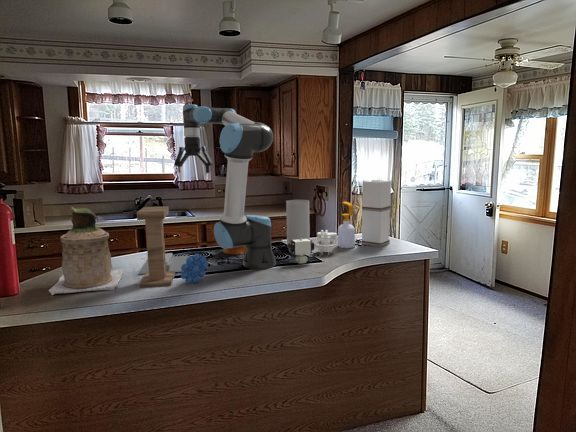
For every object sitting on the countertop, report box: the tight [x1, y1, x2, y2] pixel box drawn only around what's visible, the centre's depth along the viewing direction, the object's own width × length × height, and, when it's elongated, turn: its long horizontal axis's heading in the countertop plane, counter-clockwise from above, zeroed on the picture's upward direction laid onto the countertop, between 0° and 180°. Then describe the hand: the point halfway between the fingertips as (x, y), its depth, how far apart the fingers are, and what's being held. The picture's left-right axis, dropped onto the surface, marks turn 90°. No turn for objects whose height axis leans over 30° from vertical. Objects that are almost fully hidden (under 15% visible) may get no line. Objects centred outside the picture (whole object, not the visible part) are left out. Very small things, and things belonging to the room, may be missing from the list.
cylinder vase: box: [285, 199, 311, 247], centre depth 230 cm, size 12×12×25 cm
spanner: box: [165, 252, 174, 271], centre depth 198 cm, size 22×6×2 cm, turn 9°
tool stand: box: [136, 205, 176, 288], centre depth 172 cm, size 16×12×30 cm
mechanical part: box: [314, 229, 338, 256], centre depth 214 cm, size 11×12×12 cm
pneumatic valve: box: [287, 238, 316, 265], centre depth 197 cm, size 6×12×12 cm, turn 109°
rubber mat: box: [137, 255, 191, 276], centre depth 198 cm, size 28×20×1 cm
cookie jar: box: [48, 207, 123, 296], centre depth 170 cm, size 25×25×32 cm
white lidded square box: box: [361, 179, 392, 248], centre depth 232 cm, size 11×11×35 cm
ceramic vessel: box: [222, 245, 246, 256], centre depth 223 cm, size 14×26×15 cm, turn 154°
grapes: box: [180, 253, 209, 284], centre depth 171 cm, size 12×7×12 cm, turn 124°
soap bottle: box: [337, 200, 356, 249], centre depth 227 cm, size 9×9×25 cm
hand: (194, 179), depth 211 cm, fingers open, 13 cm apart
